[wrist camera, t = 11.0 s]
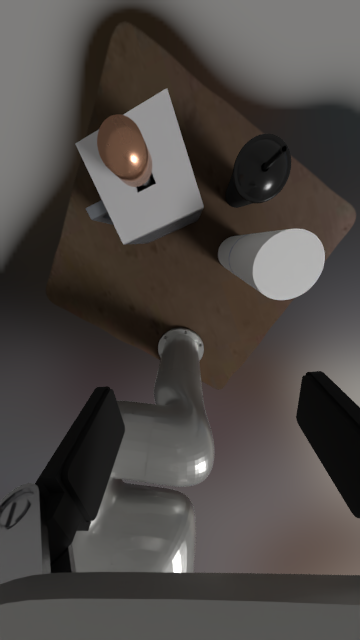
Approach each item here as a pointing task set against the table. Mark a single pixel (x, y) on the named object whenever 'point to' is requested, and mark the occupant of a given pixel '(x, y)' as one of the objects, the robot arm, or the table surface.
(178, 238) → the table surface
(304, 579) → the robot arm
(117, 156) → the copper piston
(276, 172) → the drinking cup
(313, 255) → the cylindrical container
